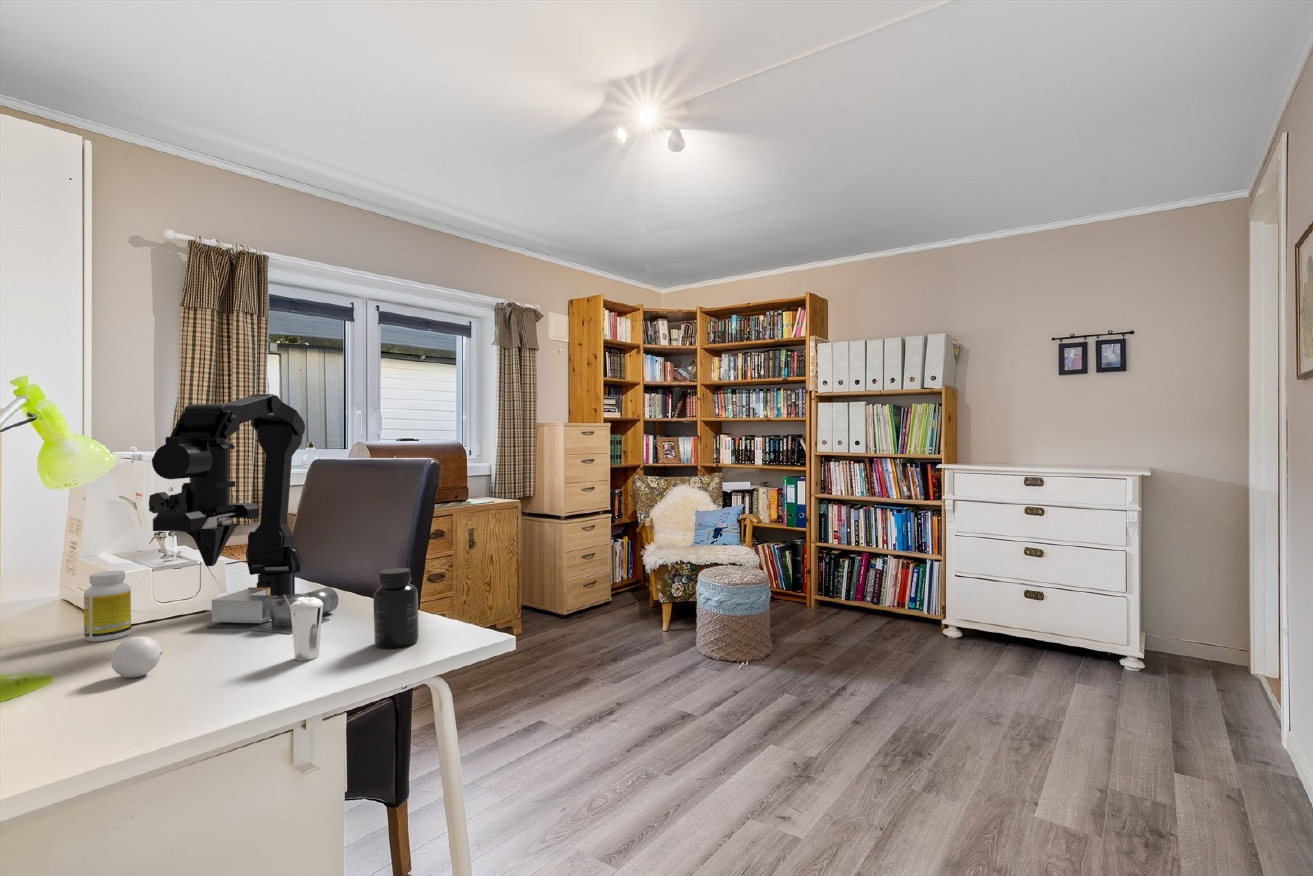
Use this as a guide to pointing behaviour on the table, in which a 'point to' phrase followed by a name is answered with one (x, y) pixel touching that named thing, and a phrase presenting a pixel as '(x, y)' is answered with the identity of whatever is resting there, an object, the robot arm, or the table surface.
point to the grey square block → (243, 606)
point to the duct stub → (282, 610)
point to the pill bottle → (107, 607)
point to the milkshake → (306, 627)
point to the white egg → (136, 657)
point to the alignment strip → (235, 625)
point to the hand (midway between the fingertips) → (210, 565)
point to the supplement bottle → (395, 610)
